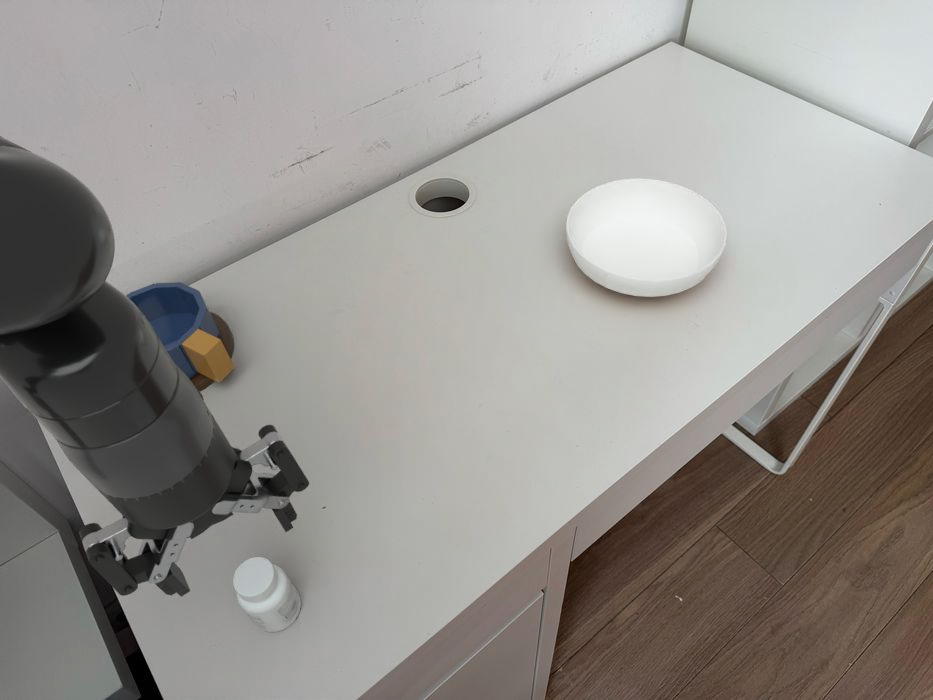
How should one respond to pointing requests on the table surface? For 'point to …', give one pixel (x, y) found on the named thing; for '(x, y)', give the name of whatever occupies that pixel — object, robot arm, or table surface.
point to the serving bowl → (184, 328)
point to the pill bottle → (266, 594)
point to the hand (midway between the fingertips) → (235, 552)
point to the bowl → (645, 236)
